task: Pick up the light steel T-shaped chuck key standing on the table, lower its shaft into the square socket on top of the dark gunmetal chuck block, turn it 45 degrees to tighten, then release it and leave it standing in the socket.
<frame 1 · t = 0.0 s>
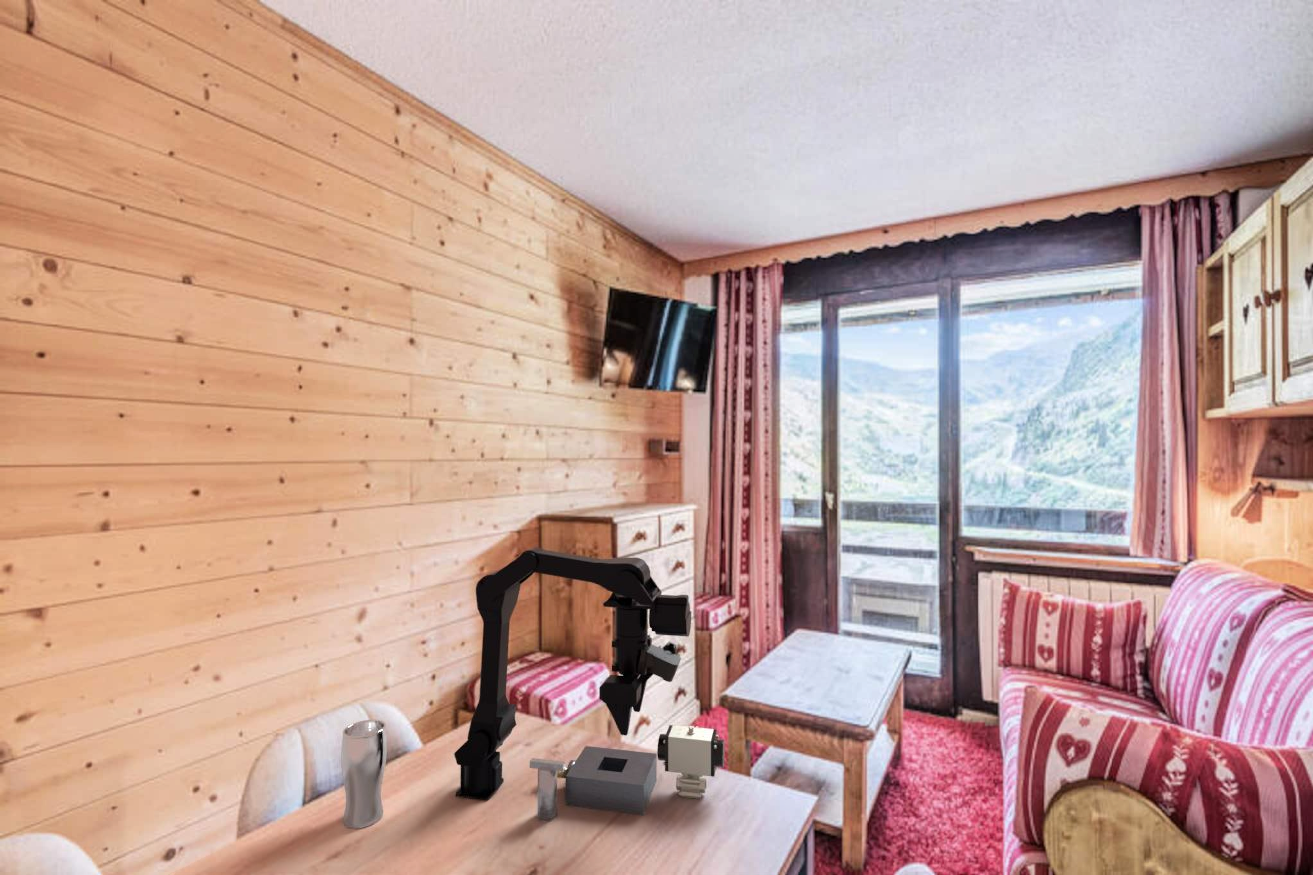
hand: (630, 722, 105), 15 cm above the table, fingers open, 9 cm apart
chuck block: (612, 792, 109), on the table
beer glass: (363, 819, 101), on the table
chuck key: (547, 815, 102), on the table
pneumatic valve: (691, 793, 109), on the table
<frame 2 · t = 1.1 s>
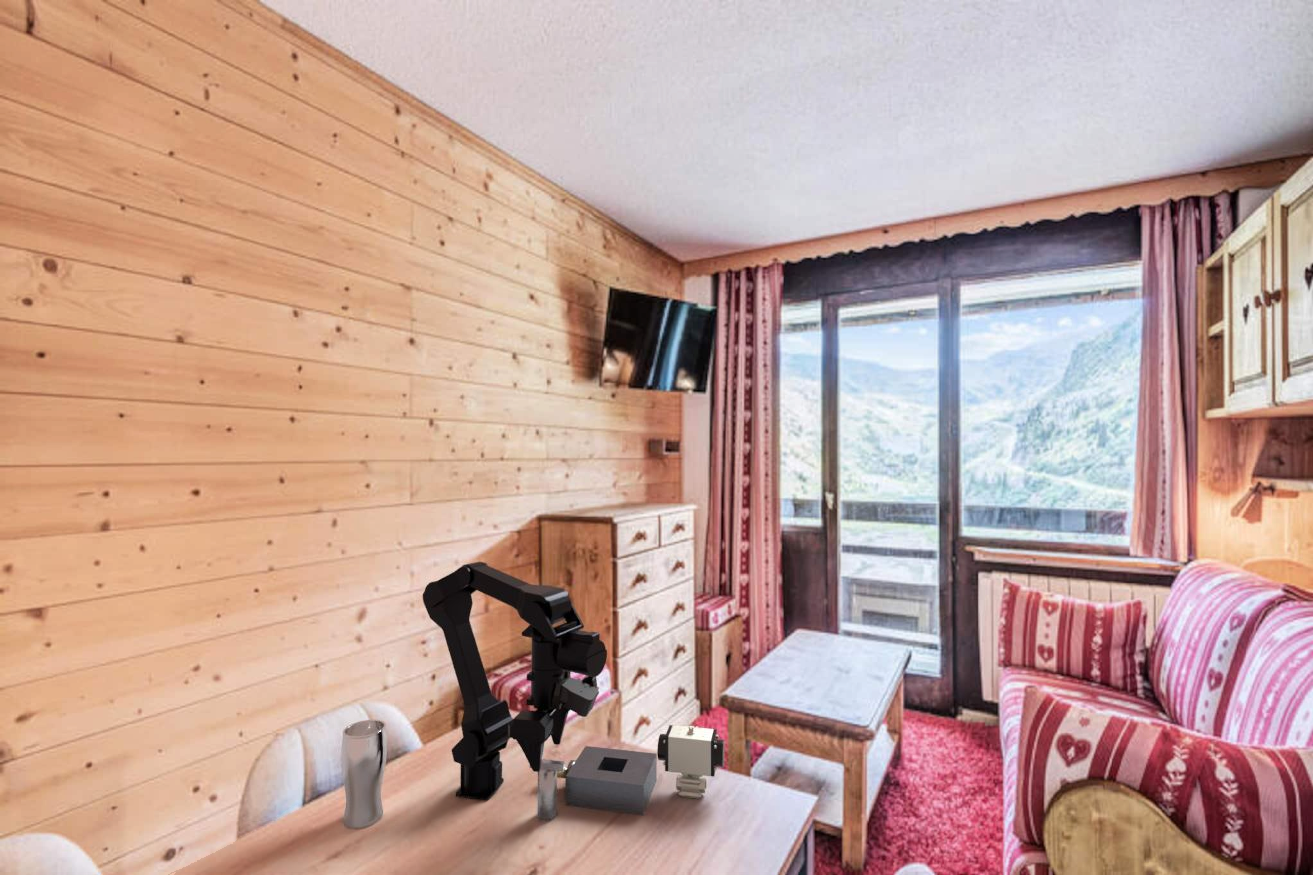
hand: (547, 756, 103), 10 cm above the table, fingers open, 9 cm apart
nothing on the table moved.
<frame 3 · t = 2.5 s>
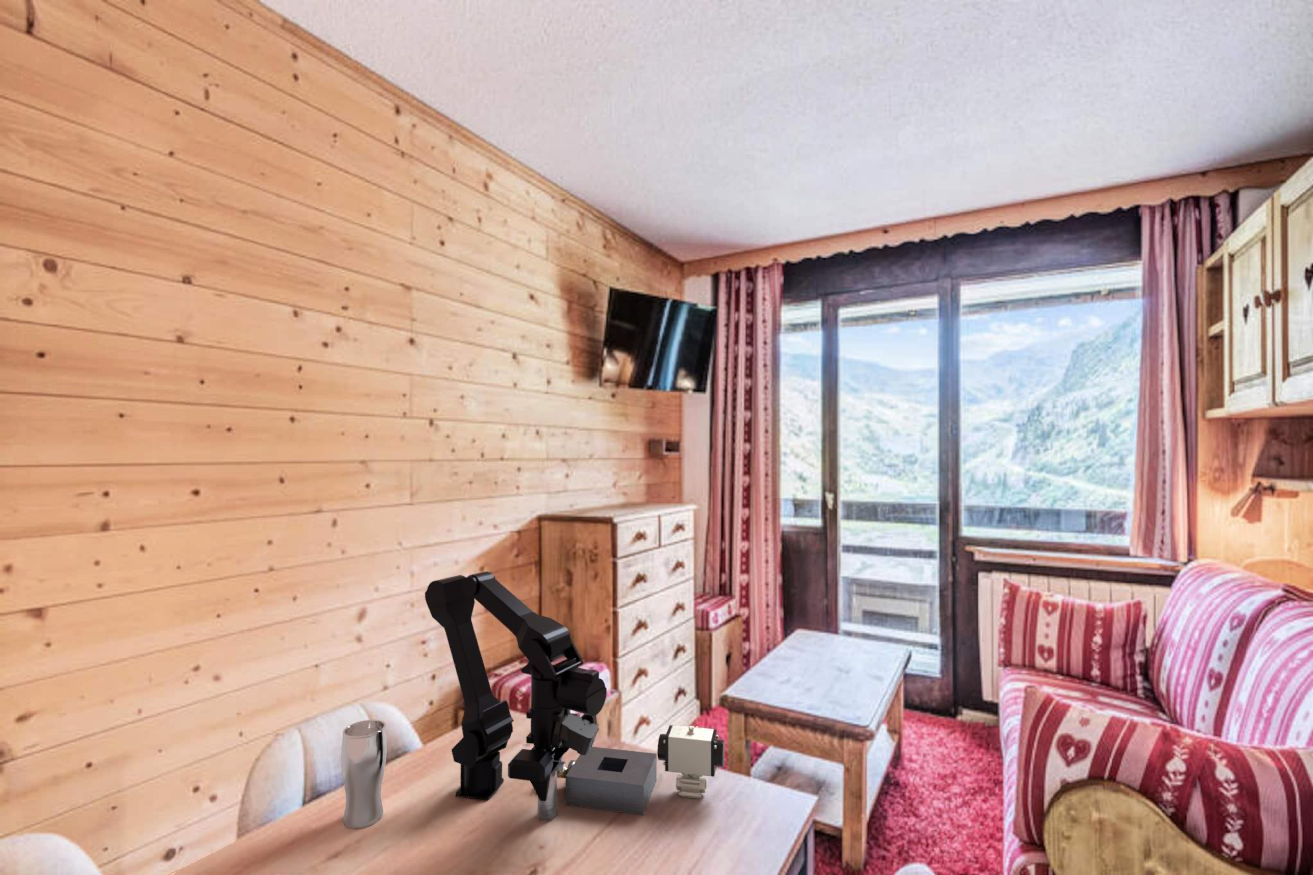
hand: (547, 794, 102), 4 cm above the table, fingers closed on chuck key, 3 cm apart
chuck key: (547, 815, 102), on the table, touching gripper
everything else where it was.
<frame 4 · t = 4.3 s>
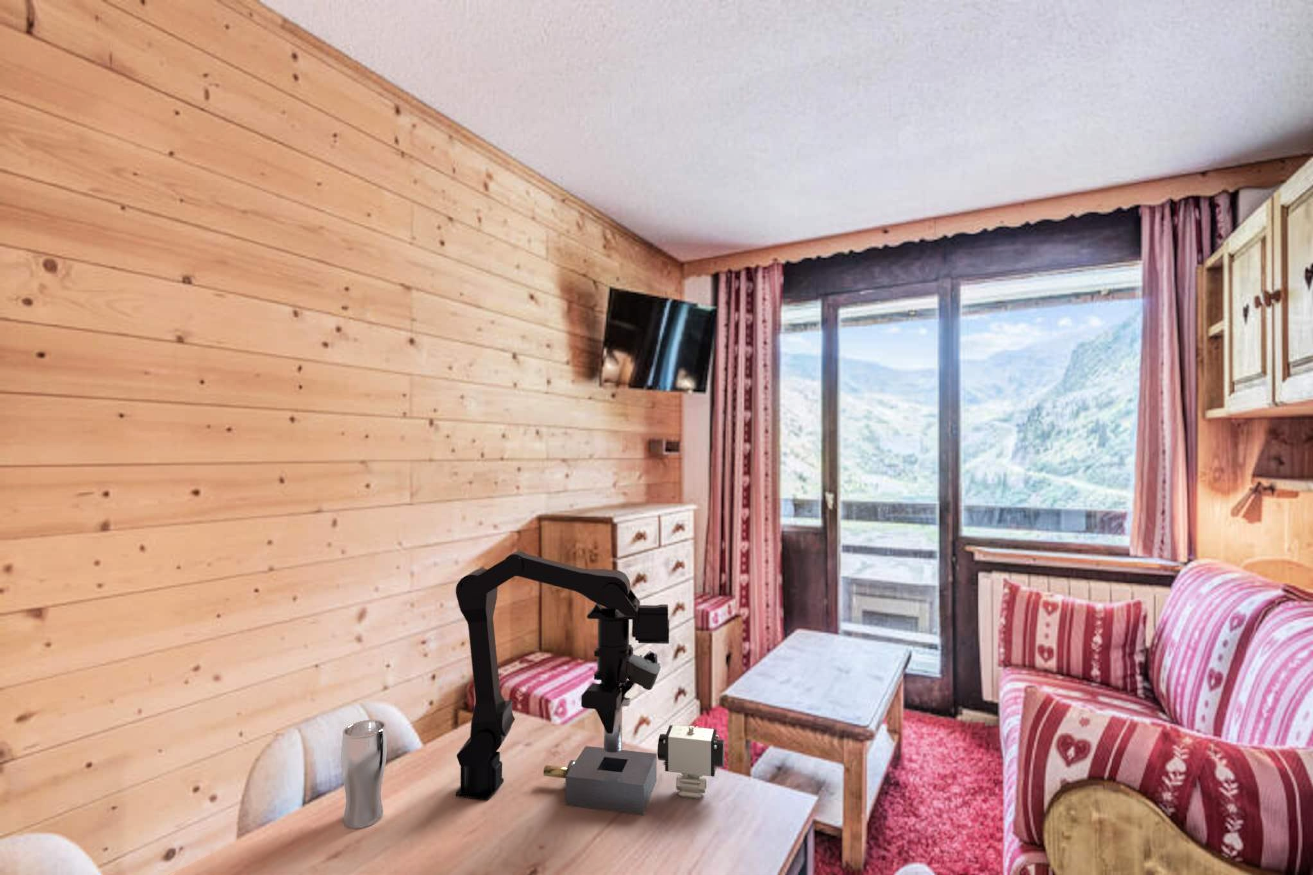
hand: (612, 728, 109), 11 cm above the table, fingers closed on chuck key, 3 cm apart
chuck key: (612, 748, 109), point 8 cm above the table, touching gripper
everything else where it was.
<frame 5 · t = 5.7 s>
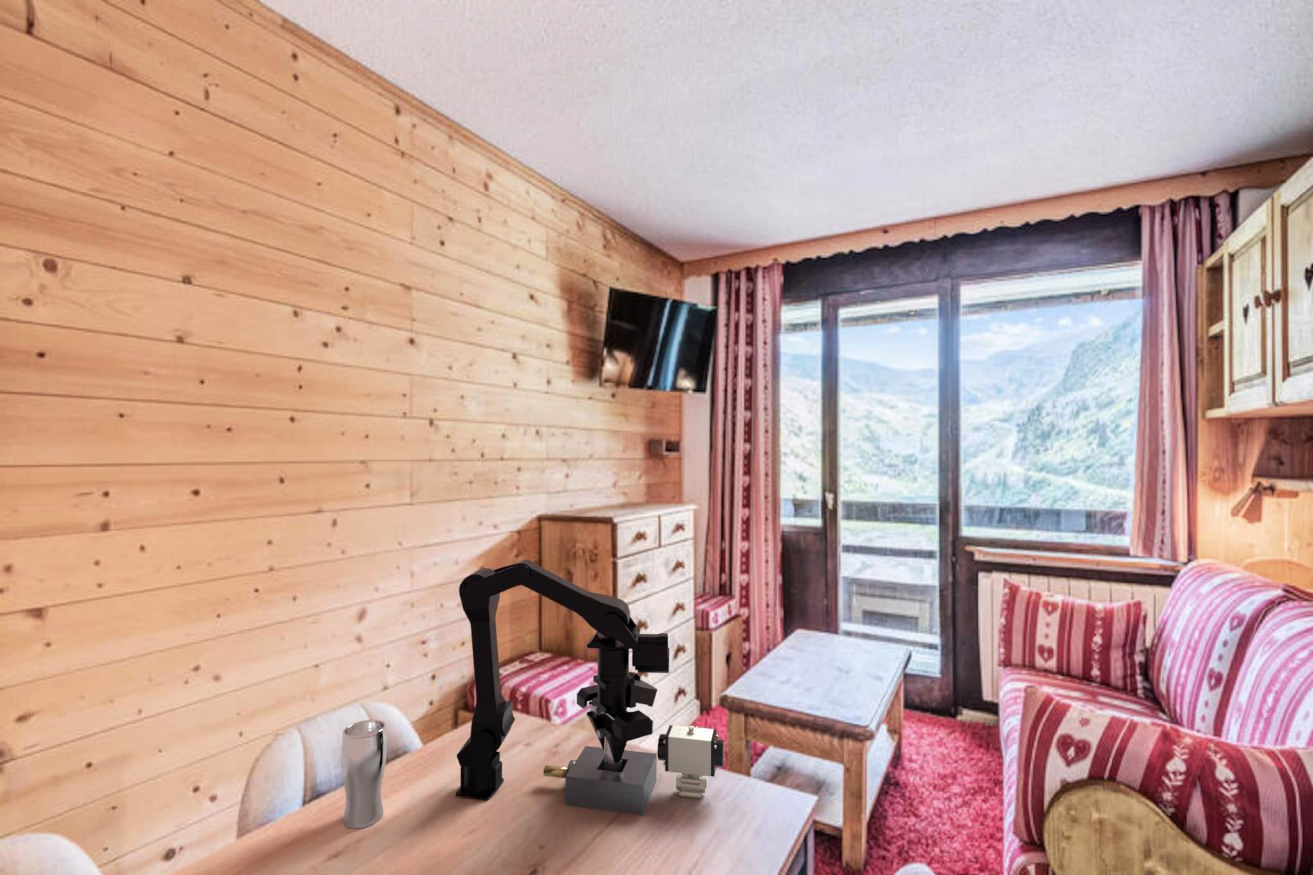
hand: (612, 757, 109), 6 cm above the table, fingers closed on chuck key, 3 cm apart
chuck key: (612, 777, 109), point 3 cm above the table, touching gripper
everything else where it was.
when the fingers open (6 cm above the table, at t = 6.5 s): chuck key stays where it is, resting on chuck block.
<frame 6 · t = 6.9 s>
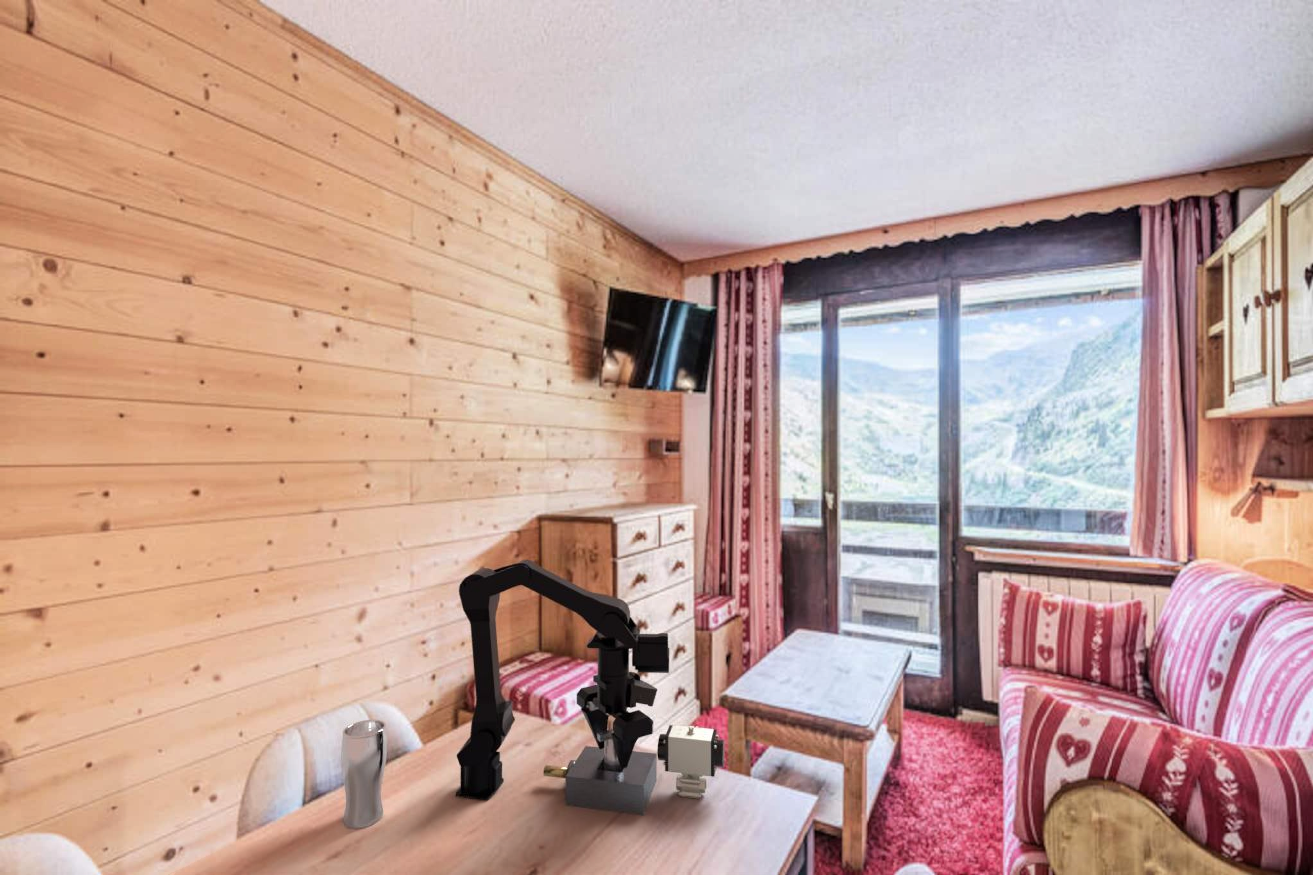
hand: (612, 757, 109), 6 cm above the table, fingers open, 8 cm apart
chuck key: (612, 780, 109), point 2 cm above the table, touching chuck block
everything else where it was.
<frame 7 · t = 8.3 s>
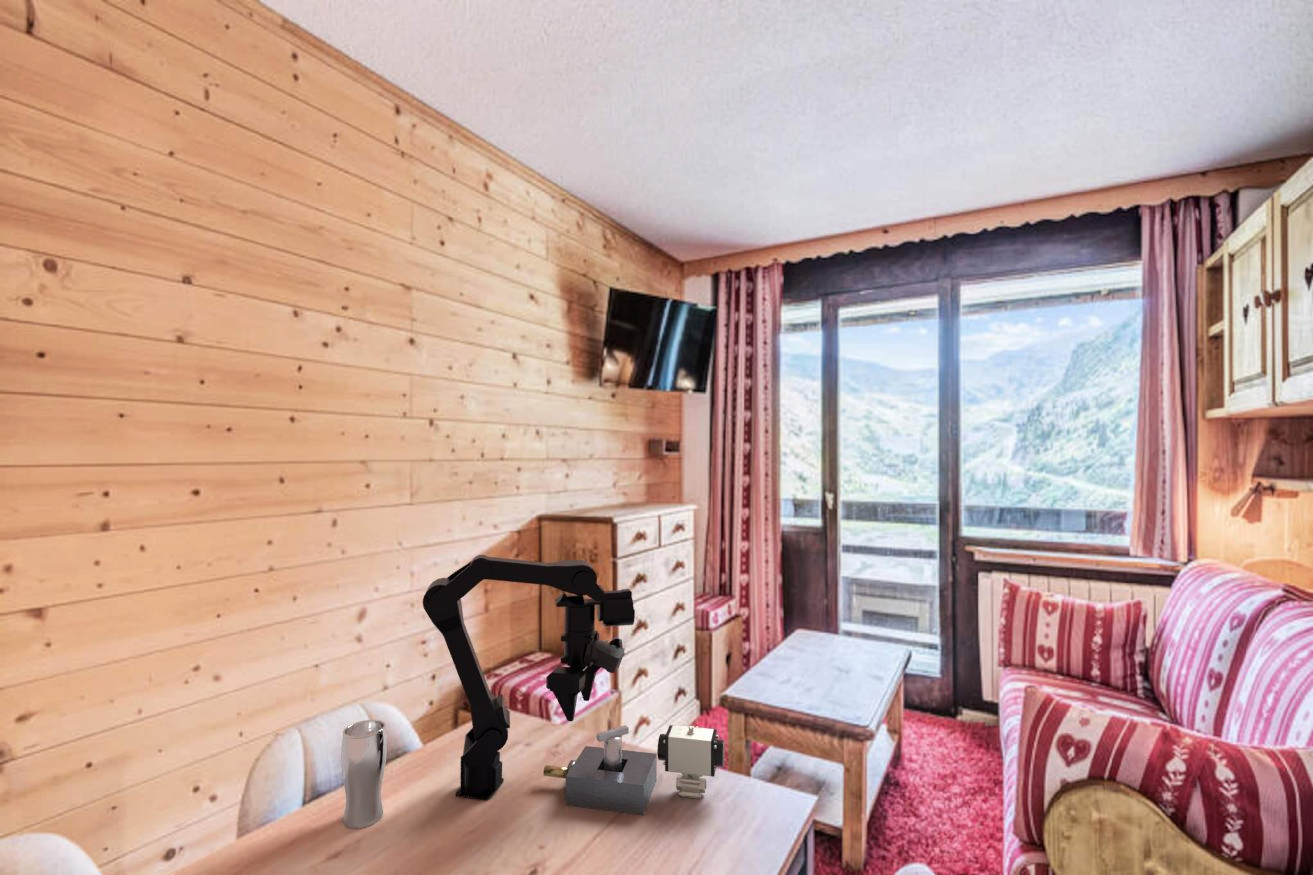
hand: (578, 710, 115), 12 cm above the table, fingers open, 9 cm apart
nothing on the table moved.
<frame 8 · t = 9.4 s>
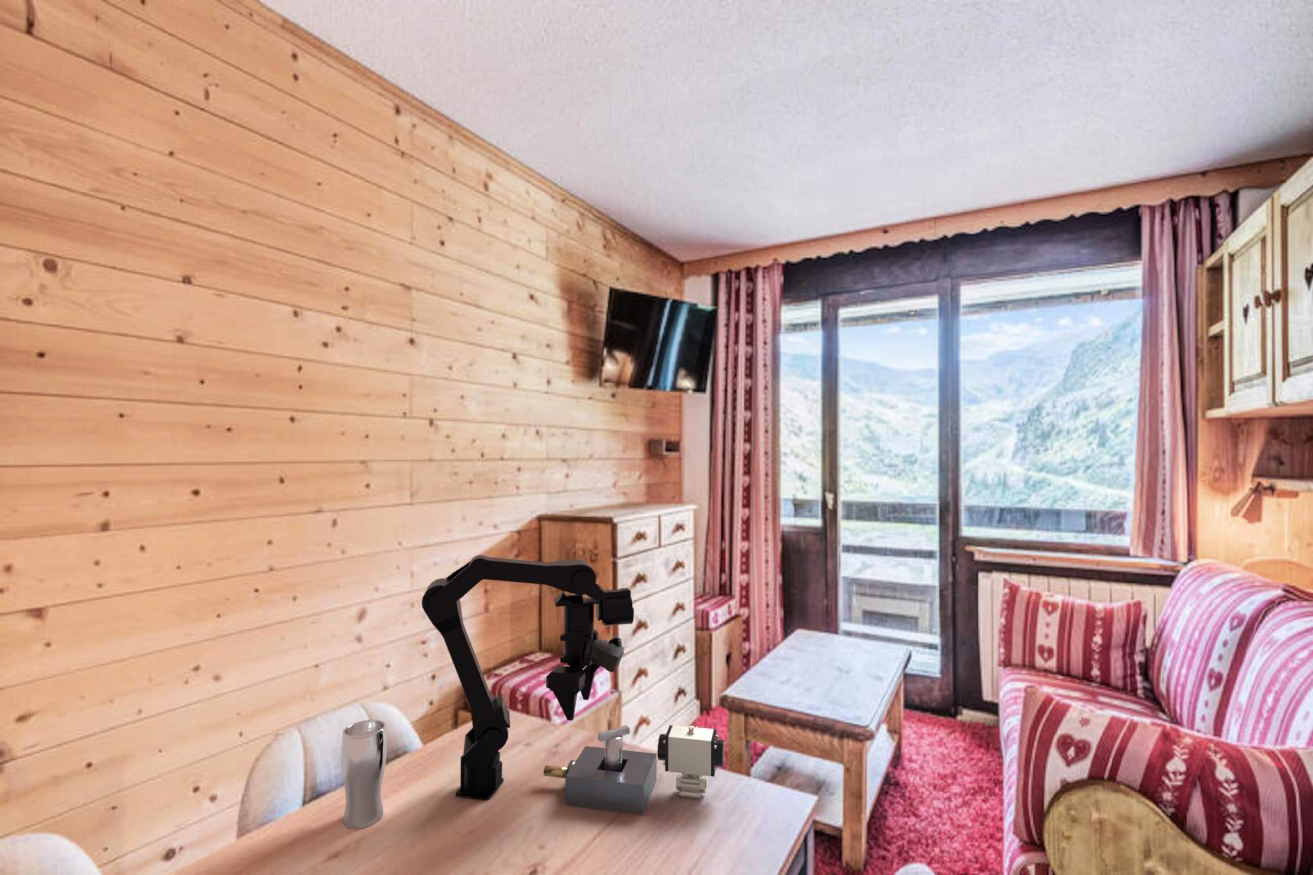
hand: (578, 709, 115), 13 cm above the table, fingers open, 9 cm apart
nothing on the table moved.
at the end: chuck key 0.0 cm off-centre on the chuck block, point 2.0 cm above the chuck block's base; chuck key tilted 1°; the gripper is holding nothing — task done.
